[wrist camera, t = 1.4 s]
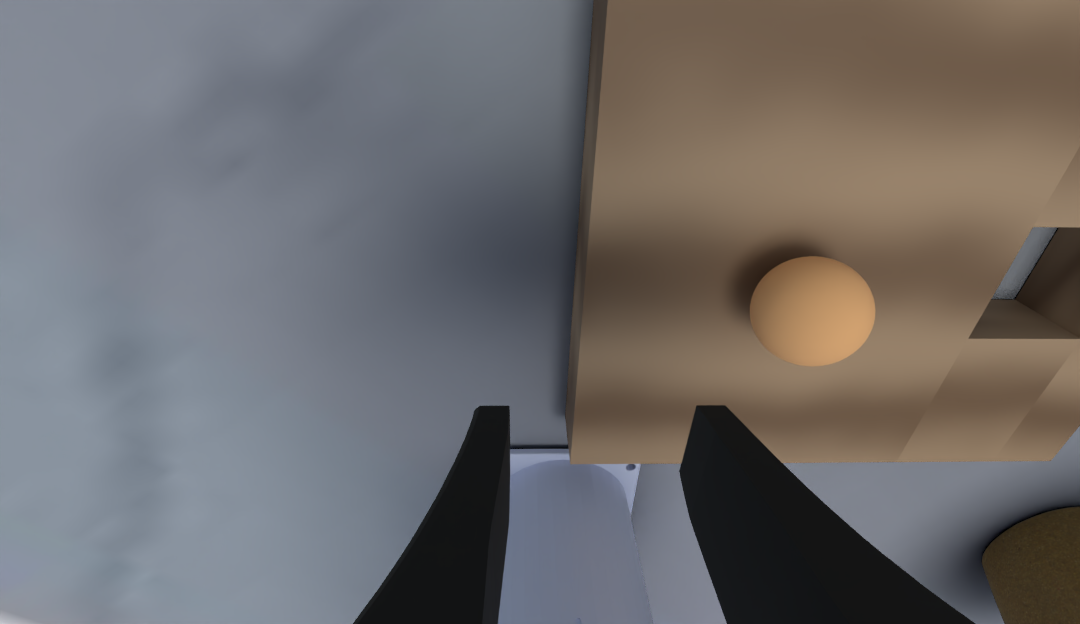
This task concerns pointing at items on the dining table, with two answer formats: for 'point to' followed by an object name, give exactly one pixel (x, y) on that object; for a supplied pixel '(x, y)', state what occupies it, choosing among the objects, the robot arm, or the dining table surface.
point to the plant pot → (1037, 569)
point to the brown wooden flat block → (829, 225)
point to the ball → (812, 311)
